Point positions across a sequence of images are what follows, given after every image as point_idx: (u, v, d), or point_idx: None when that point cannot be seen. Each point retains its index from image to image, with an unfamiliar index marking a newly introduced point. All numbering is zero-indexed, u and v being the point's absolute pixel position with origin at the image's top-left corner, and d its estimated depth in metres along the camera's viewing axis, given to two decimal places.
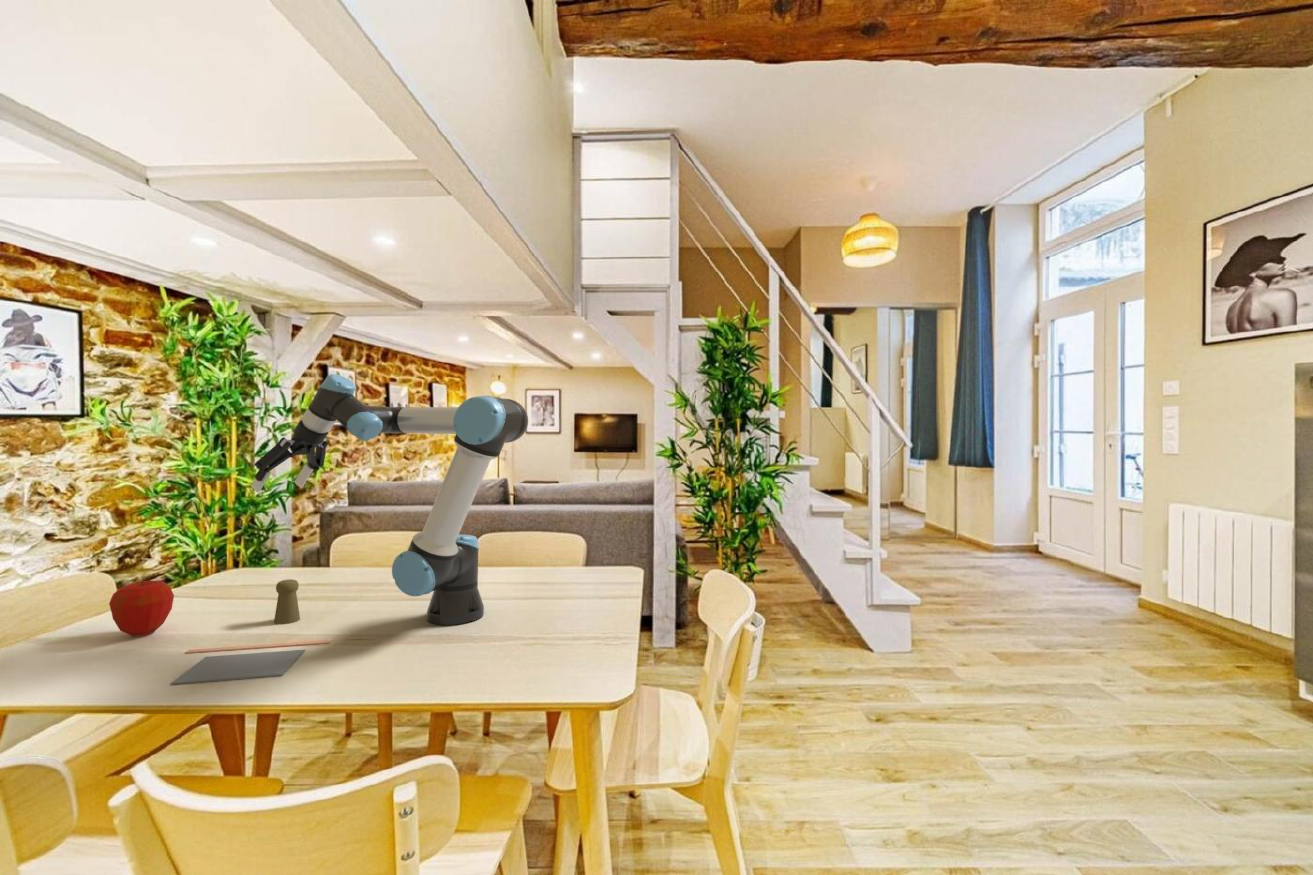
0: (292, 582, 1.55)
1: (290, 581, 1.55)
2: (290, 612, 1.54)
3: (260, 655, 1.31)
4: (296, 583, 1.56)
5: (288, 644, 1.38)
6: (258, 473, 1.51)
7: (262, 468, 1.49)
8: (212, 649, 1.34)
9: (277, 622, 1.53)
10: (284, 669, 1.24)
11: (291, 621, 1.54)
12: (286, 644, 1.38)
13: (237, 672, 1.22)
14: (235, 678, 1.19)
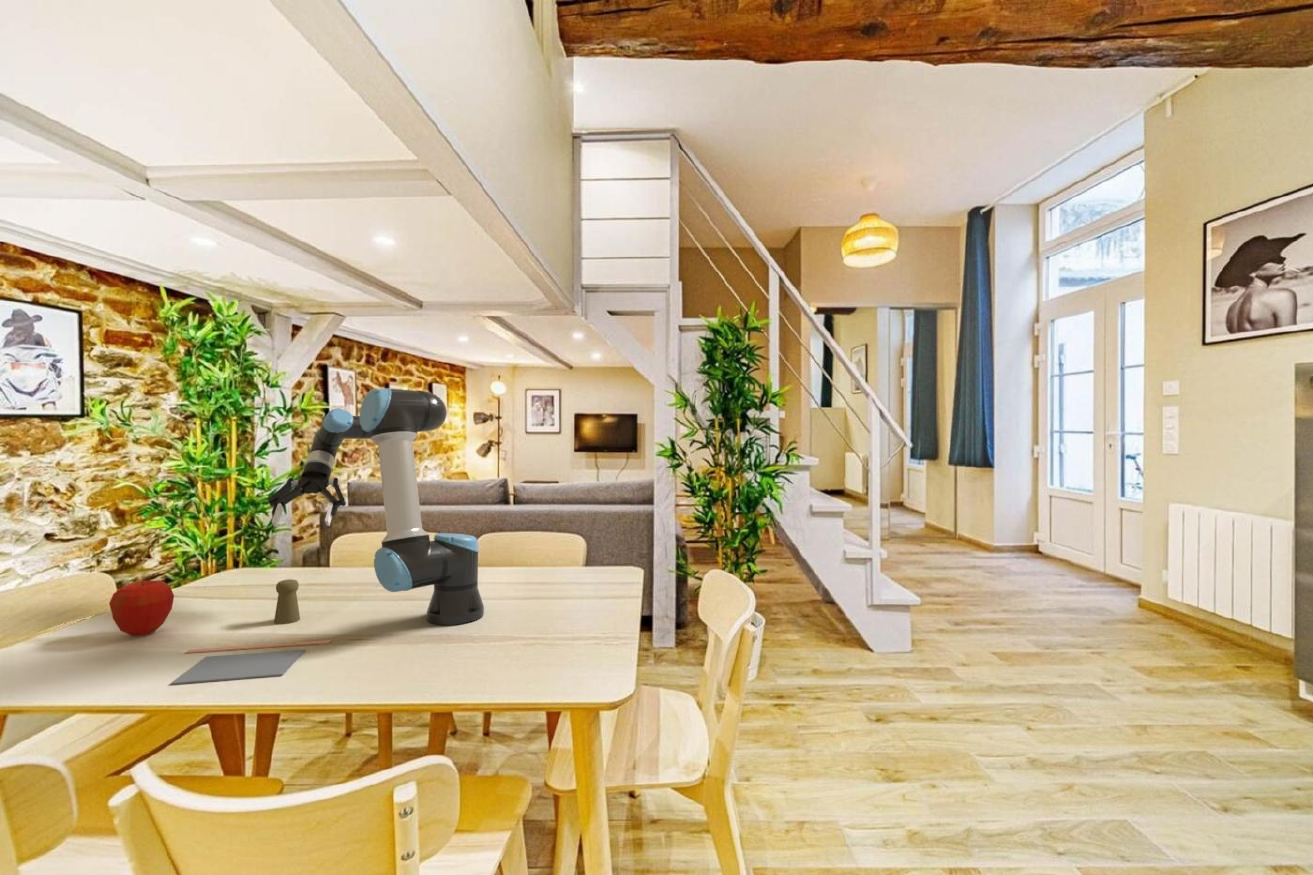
0: (292, 582, 1.55)
1: (290, 581, 1.55)
2: (290, 612, 1.54)
3: (260, 655, 1.31)
4: (296, 583, 1.56)
5: (288, 644, 1.38)
6: None
7: (269, 499, 1.68)
8: (212, 649, 1.34)
9: (277, 622, 1.53)
10: (284, 669, 1.24)
11: (291, 621, 1.54)
12: (286, 644, 1.38)
13: (237, 672, 1.22)
14: (235, 678, 1.19)
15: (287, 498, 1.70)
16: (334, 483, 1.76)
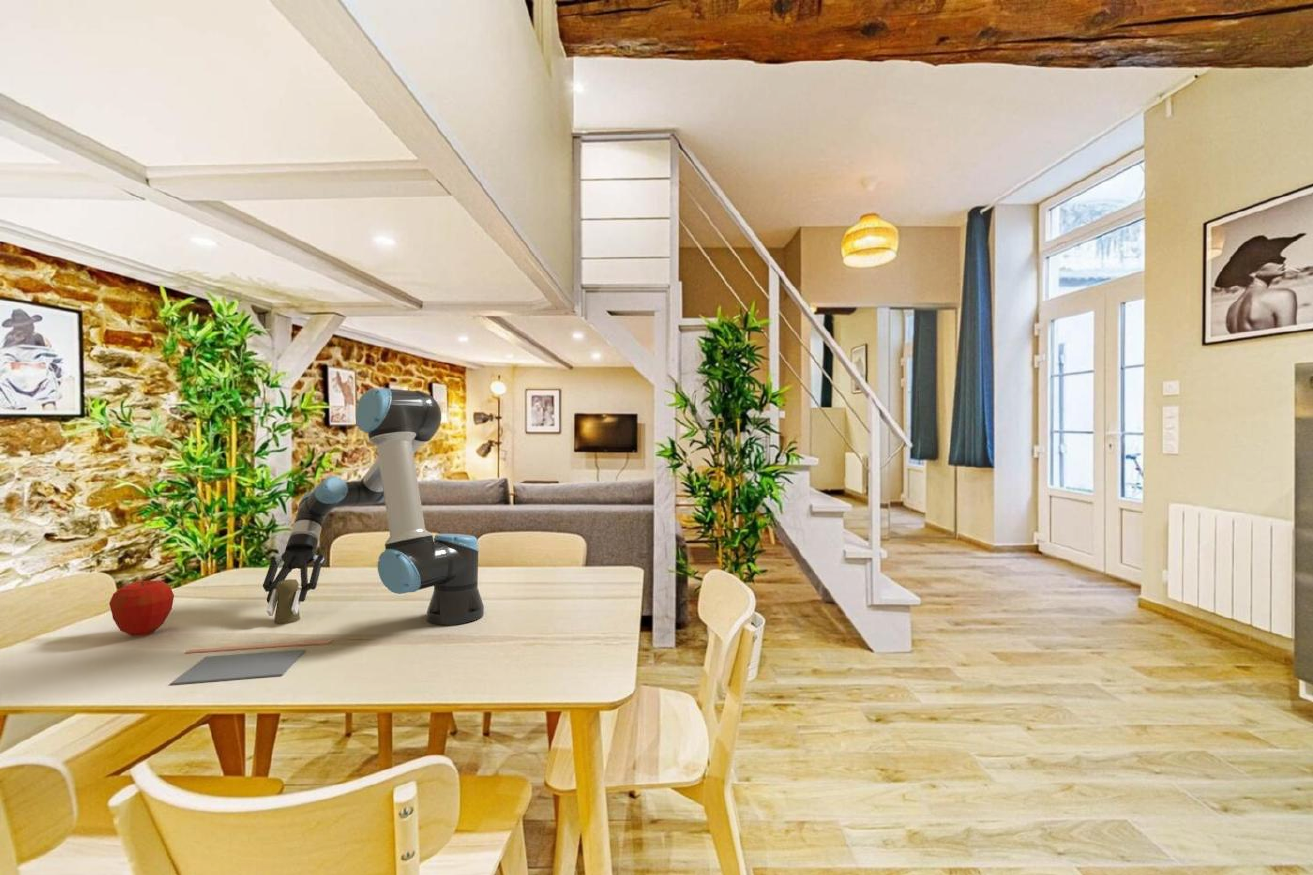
0: (292, 582, 1.55)
1: (290, 581, 1.55)
2: (290, 612, 1.54)
3: (260, 655, 1.31)
4: (296, 583, 1.56)
5: (288, 644, 1.38)
6: None
7: (264, 584, 1.55)
8: (212, 649, 1.34)
9: (277, 622, 1.53)
10: (284, 669, 1.24)
11: (291, 621, 1.54)
12: (286, 644, 1.38)
13: (237, 672, 1.22)
14: (235, 678, 1.19)
15: (280, 579, 1.58)
16: (316, 560, 1.63)
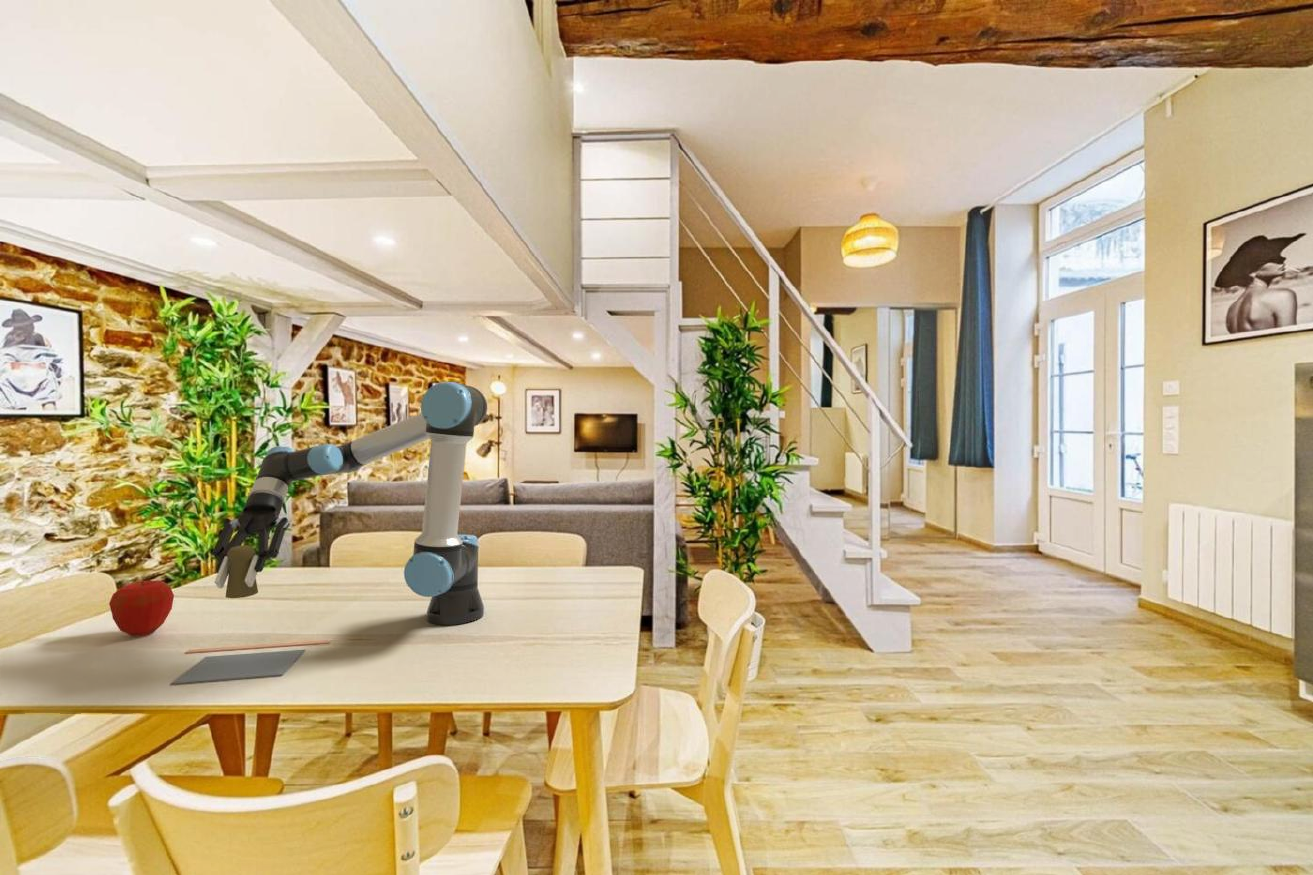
0: (246, 548, 1.29)
1: (244, 547, 1.29)
2: (245, 584, 1.29)
3: (260, 655, 1.31)
4: (252, 550, 1.30)
5: (288, 644, 1.38)
6: None
7: (213, 551, 1.30)
8: (212, 649, 1.34)
9: (228, 595, 1.28)
10: (284, 669, 1.24)
11: (246, 595, 1.29)
12: (286, 644, 1.38)
13: (237, 672, 1.22)
14: (235, 678, 1.19)
15: (234, 545, 1.32)
16: (278, 524, 1.37)
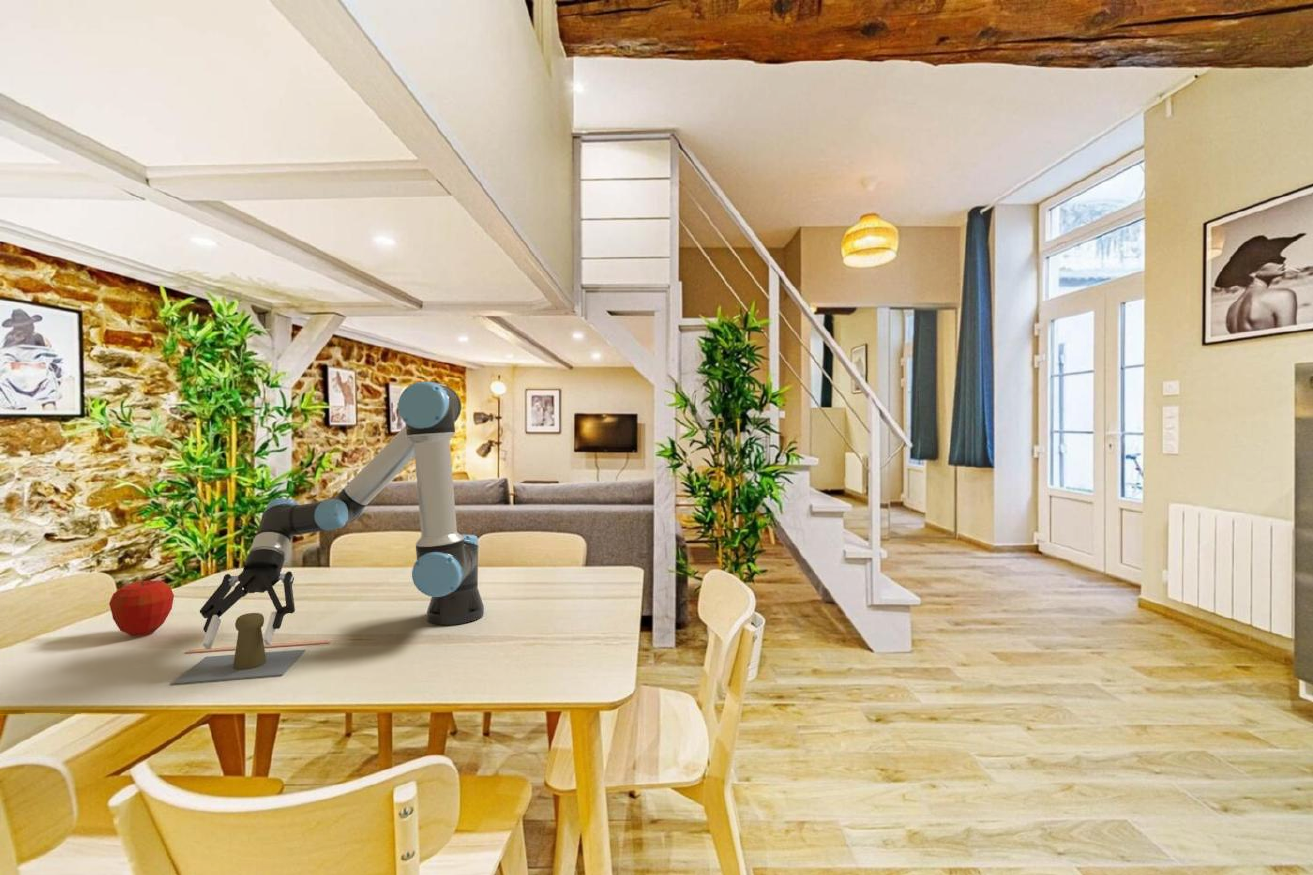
0: (255, 617, 1.25)
1: (253, 615, 1.25)
2: (253, 655, 1.24)
3: None
4: (261, 618, 1.26)
5: (288, 644, 1.38)
6: None
7: (201, 609, 1.25)
8: (212, 649, 1.34)
9: (236, 667, 1.23)
10: (284, 669, 1.24)
11: (254, 665, 1.24)
12: (286, 644, 1.38)
13: (237, 672, 1.22)
14: (235, 678, 1.19)
15: (225, 604, 1.27)
16: (285, 579, 1.33)
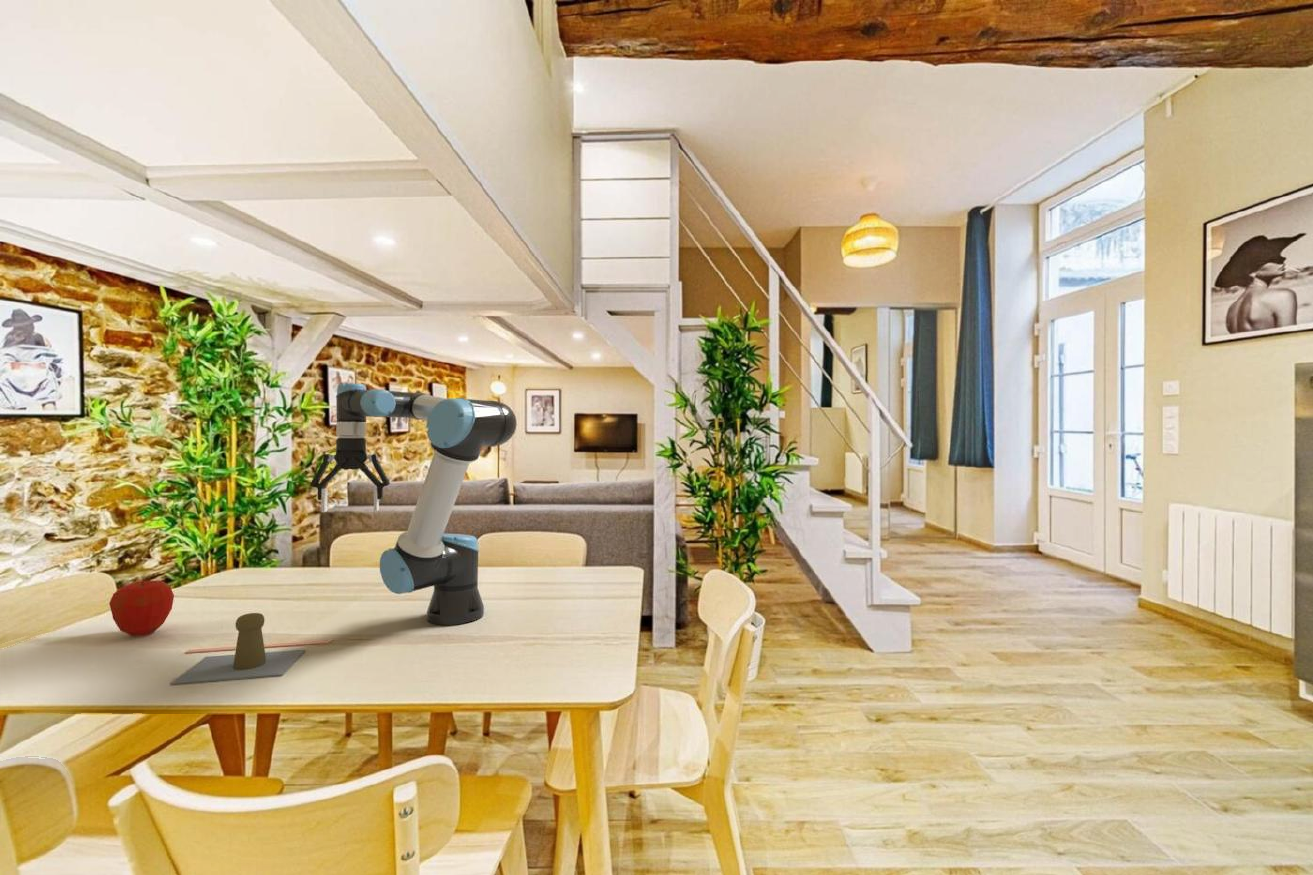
0: (256, 617, 1.25)
1: (253, 616, 1.25)
2: (254, 655, 1.24)
3: None
4: (261, 618, 1.26)
5: (288, 644, 1.38)
6: None
7: (311, 483, 1.61)
8: (212, 649, 1.34)
9: (236, 667, 1.23)
10: (284, 669, 1.24)
11: (254, 666, 1.24)
12: (286, 644, 1.38)
13: (237, 672, 1.22)
14: (235, 678, 1.19)
15: (329, 480, 1.63)
16: (373, 462, 1.65)
